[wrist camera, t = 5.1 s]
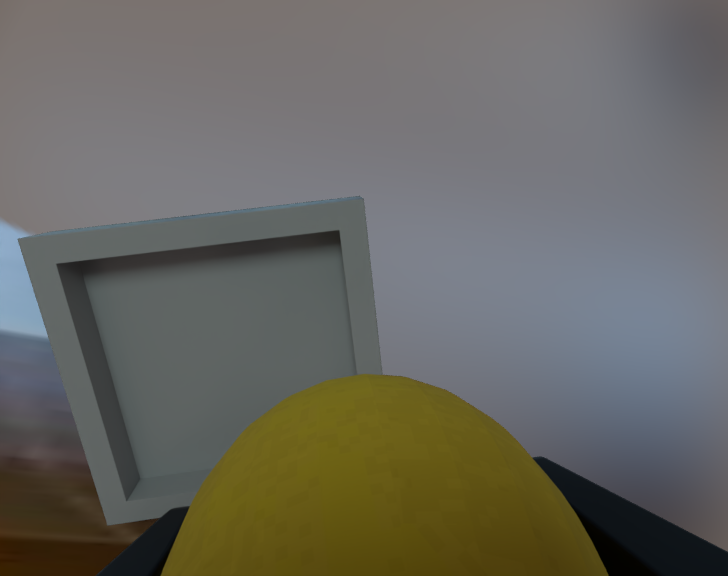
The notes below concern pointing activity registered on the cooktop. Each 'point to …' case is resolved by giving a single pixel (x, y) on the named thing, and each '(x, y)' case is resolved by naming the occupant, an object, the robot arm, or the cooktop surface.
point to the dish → (198, 334)
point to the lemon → (379, 493)
